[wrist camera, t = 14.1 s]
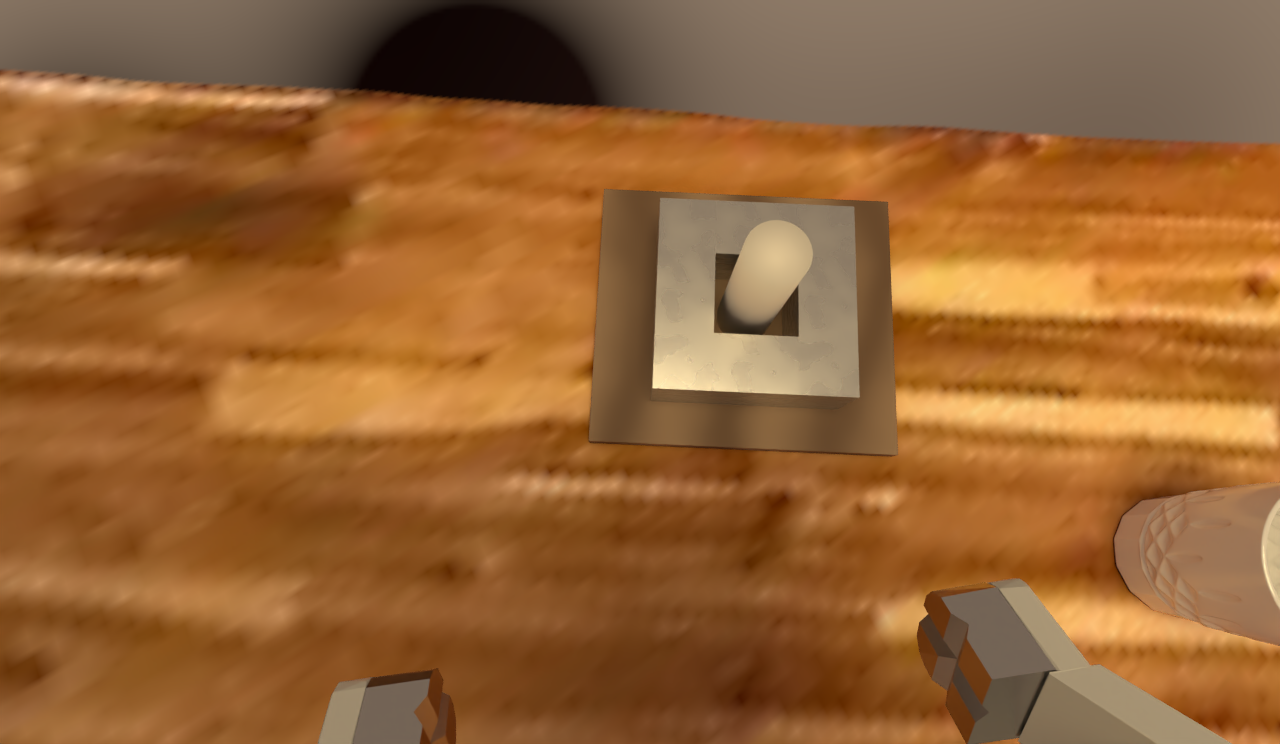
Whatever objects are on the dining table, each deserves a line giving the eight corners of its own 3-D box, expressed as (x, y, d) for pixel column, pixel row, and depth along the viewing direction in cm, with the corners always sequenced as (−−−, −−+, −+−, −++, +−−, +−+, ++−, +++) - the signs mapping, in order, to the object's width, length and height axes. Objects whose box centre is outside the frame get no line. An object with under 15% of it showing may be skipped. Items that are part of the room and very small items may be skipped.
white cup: (1093, 604, 37) (1255, 634, 28) (1111, 470, 39) (1270, 454, 29) (1232, 645, 37) (1446, 691, 27) (1244, 508, 39) (1450, 505, 29)
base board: (589, 442, 39) (588, 440, 38) (604, 196, 43) (604, 189, 42) (891, 456, 39) (897, 454, 38) (882, 209, 43) (887, 201, 42)
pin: (715, 341, 40) (742, 283, 30) (716, 290, 40) (743, 218, 30) (769, 343, 40) (813, 286, 30) (769, 293, 40) (812, 221, 30)
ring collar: (650, 401, 39) (652, 388, 35) (657, 228, 41) (660, 197, 37) (836, 409, 39) (859, 397, 35) (833, 236, 41) (854, 206, 37)
